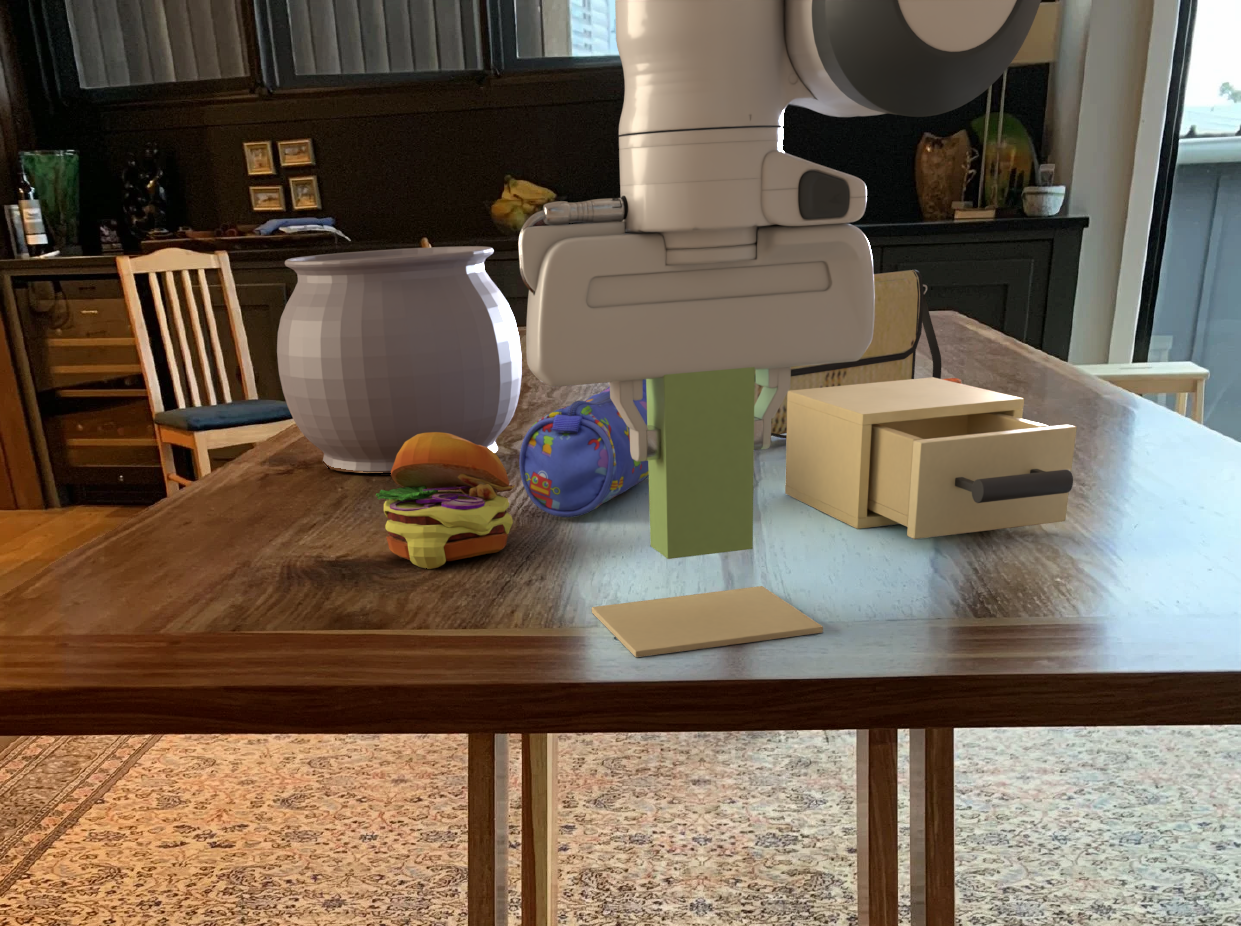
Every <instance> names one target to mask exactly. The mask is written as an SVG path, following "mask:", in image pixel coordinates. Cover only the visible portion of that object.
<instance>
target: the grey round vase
mask: <svg viewBox="0 0 1241 926" xmlns="http://www.w3.org/2000/svg"><path fill="white" fill-rule="evenodd" d="M494 252H495V250H494V248H493V247H491V246H479V245H478V246H477V245H476V246H475V245H473V246H470V245H469V246H465V245H464V246H463V245H462V246H434V247H433V246H431V247H413V248H396V249H395V248H394V249H378V250H377V249H376V250H364V251H350V252H349V251H348V252H336V253H325V254H316V255H315V254H314V255H306V256H305V255H304V256H299V257H291V258H288V259H286V260H285V261H284V265H285V267H287V268H289V269H291V270H293V271H294V273H295V274H296V275H297V283H296V284H295V287H294V289H293V291H292V292H291V295H290V297H289V299H288V301H287V302H286V304H285V307H284V309H283V312H282V314H281V316H280V319H279V325H278V330H277V340H276V341H277V342H276V343H277V344H276V353H277V368H278V375H279V381H280V384H281V389H282V393H283V396H284V399H285V402H286V405H287V409H288V410H289V412H290V415H291V417H292V419H293V421H294V424H295V425H296V427H297V428H298V430H299V431H300V432H301V434H302V435H303V436H304V437H305V438H306V439H307V440H308V441H309V442H310V443H311V444H313V446H315V447H316V448H317V449H319V451H321V452H322V453H323V458H322V462H323V461H324V462H325V463H326V464H327V465H329V466H331V467H334V468H341V469H346V470H353V471H363V472H383V473H391V470H392V467H393V465H394V462H395V459H396V456H397V454H398V452H399V450H400V449H401V447H402V446H403V444H404V443H405V442H406V441H407V440H409V439H411V438H412V437H414V436H415V435H417V434H421V433H429V432H441V433H449V434H453V435H455V436H458V437H461V438H463V439H465V440H468V441H470V442H472V443H474V444H476V445H482V446H484V447H487V448H489V449H490V450H491V451H493V452H494V453H495V454H496V453H497V451H498V450H499V447H498V445H497V442H496V441H497V438H499V436H500V435H501V434H502V433H503V432H504V430H506V428H507V427H508V426H509V424H510V423H511V421H512V419H513V417H514V416H515V413H516V409H517V407H518V402H519V398H520V393H521V386H522V376H523V374H522V373H523V372H522V371H523V370H522V364H523V363H522V362H523V361H522V359H523V357H522V348H521V341H520V335H519V331H518V327H517V322H516V318H515V316H514V313H513V311H512V309H511V307H510V304H509V302H508V300H507V299H506V297H505V296H504V294H503V293H502V291H501V290H500V288H498V286H497V284H496V283H495V282H494V281H493V280H492V278H491V277H490V276H489V274H488V272H486V270H485V262H486V259H487V258H489V257H490V256H491V255H493V254H494Z"/></svg>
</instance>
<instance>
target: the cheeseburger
mask: <svg viewBox="0 0 1241 926" xmlns="http://www.w3.org/2000/svg"><path fill="white" fill-rule="evenodd" d="M390 477H391V479H392V481H393V482H394V483H395V484H396V485H397V486H400V487H398V488H392V489H389V490H384V489H380V490H379V492H376V493H375V497H377V500H381V499H384V500H385V501H384V503H383V513H384V516H385V517H386V518H387V521H386V523H385V525H384V528H385V530H386V531H387V534H388V536H387V535H386V542H387V545H388V548H389V551H390V552H392V553H393V554H394V555H396V556H397V557H399V558H401V559H404V560H408V561H410V562H411V563H412V564H413V565H415V566H417V567H419V568H422V569H426V568H427V570H431V569H432V570H433V569H437V568H439V567H441V566H444V565H445V564H446V562H453V561H457V560H462V559H467V558H473V557H479V556H483V555H486V554H487V555H488V554H494V553H498V552H501V551H502V550H503V549H504V548H505V547H506V546H507V541H508V537H509V533H510V531H511V528H512V526H513V523H514V520H513V516H512V515H511V514H510V513H509V512H508V511H507V509H509V507H510V502H509V498H507V497H505V496H504V495H501V494H498V493H501V492H502V493H504V492H511V491H512V490H513V489H514V488H515V487H516V484H510V480H509V477H508V473H507V470H506V468H505V466H504V464H503V462H502V461H501V460H500V458H499V456H498V455H497V454H496V452H495V453H494V452H493V451H491V450H490V449H489V448H487V447H484V446H482V445H476V444H474V443H472V442H470V441H468V440H465V439H463V438H461V437H458V436H455V435H453V434H449V433H441V432H429V433H421V434H417V435H415V436H414V437H412V438H411V439H409V440H407V441H406V442H405V443H404V444H403V446H402V447H401V449H400V450H399V452H398V454H397V456H396V459H395V462H394V465H393V467H392V470H391V474H390Z"/></svg>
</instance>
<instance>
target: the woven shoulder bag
mask: <svg viewBox="0 0 1241 926" xmlns="http://www.w3.org/2000/svg"><path fill="white" fill-rule="evenodd" d="M924 288H925V290H924ZM927 291H928V286H927V285H926V284H924V283H923V276H922V274H921V273H920V271H919V270H917V269H915V268H914V269H912V270H911V269H909V270H900V271H893V272H882V273H874V330H873V338H872V341H871V343H870V345H869V346H868V348H867V350H866V351H865V353H864V354H863V355H862V357H861V358H860V359H859V360H857V361H852V362H840V363H829V364H817V365H805V366H794V367H791V380H790V389H789V391H790V390H801V389H812V388H823V387H833V386H844V385H855V384H866V383H877V382H887V381H898V380H909V379H915V372H916V371H915V370H916V356H917V355H916V353H917V348H918V345H919V343H920V339H921V336H922V329H923V330H924V333H925V337H926V340H927V343H928V348H929V351H930V355H931V359H932V375H931V377H934V378H938V379H942V357H941V355H942V354H941V351H940V346H939V344H938V340H937V339H938V338H937V336H936V333H935V329H934V325H933V322H932V318H931V314H930V311H929V307H928V303H927V299H926V293H927ZM763 387H764V386H761V385H758V384H756V370H755V393H754V406H755V404H756V402H757V400H758V397H759V395H760V393H761V391H762V389H763ZM787 393H788V392H787ZM787 401H788V400H787V394H786V396H785V398H784V400H783V402H782V403H781V405H780V407H779V409H778V411H777V412H776V414H775V416H774V418H772V419H771V437H776V438H781V439H786V437H787Z"/></svg>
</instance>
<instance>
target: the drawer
mask: <svg viewBox="0 0 1241 926" xmlns="http://www.w3.org/2000/svg"><path fill="white" fill-rule="evenodd" d="M871 425H872V428H871V447H870V466H869V485H868V503H867V509H869V510H871V511H873V512H875V513H878V514H880V515H882V516H884V517H886V518H889V519H891V520H893V521H895V522H898V523H900V524H899V525H902V526H904V527H906V528H907V529H906V536H907V537H909V538H911V539H912V540H920V539H929V538H936V537H937V538H938V537H944V536H946V537H947V536H954V535H962V534H970V533H971V534H972V533H979V532H987V531H995V530H996V531H997V530H1003V529H1004V530H1005V529H1012V528H1021V527H1029V526H1036V525H1045V524H1052V523H1053V524H1055V523H1063V522H1066V519H1067V512H1068V511H1067V509H1068V502H1069V495H1070V492H1071V490H1072V488H1073V486H1074V475H1073V473H1072V470H1073V462H1074V454H1075V445H1076V437H1077V430H1078V429H1077V426H1075V425H1071V424H1060V425H1059V424H1058V425H1050V426H1049V425H1047V424H1044V423H1040V422H1036V421H1032V420H1029V419H1024V418H1022V419H1021V418H1017V417H1013V416H1009V415H1005V414H1001V413H997V412H990V413H980V414H970V415H960V416H950V417H940V418H929V419H919V420H909V421H899V422H889V423H879V424H871Z"/></svg>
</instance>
